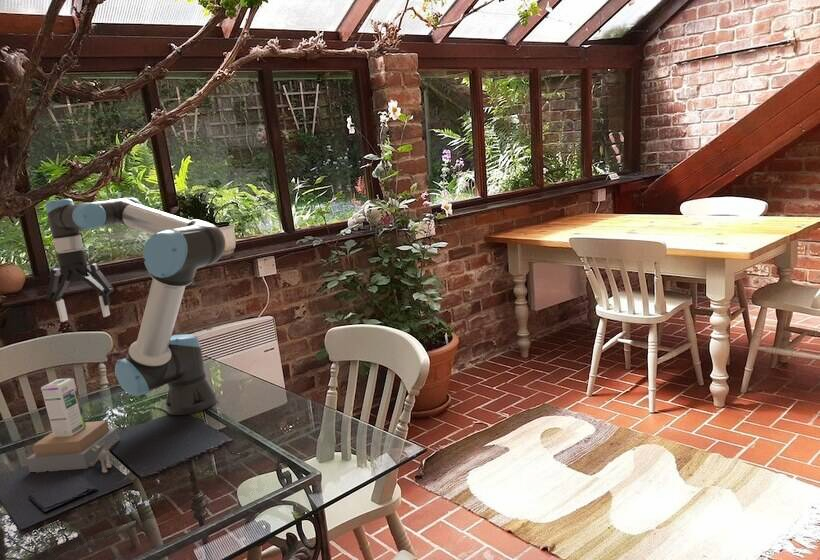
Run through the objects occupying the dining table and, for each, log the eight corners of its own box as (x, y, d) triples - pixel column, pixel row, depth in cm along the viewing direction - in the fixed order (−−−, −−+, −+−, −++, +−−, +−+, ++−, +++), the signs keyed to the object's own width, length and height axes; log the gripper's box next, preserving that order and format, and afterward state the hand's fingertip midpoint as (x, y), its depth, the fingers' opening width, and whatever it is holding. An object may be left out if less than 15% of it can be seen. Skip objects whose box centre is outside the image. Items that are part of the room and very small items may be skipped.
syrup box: (72, 436, 166) (59, 385, 163) (52, 437, 167) (40, 386, 164) (86, 427, 171) (74, 377, 169) (68, 428, 172) (55, 378, 170)
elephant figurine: (83, 480, 155) (79, 456, 162) (104, 487, 159) (99, 464, 166) (110, 450, 156) (105, 428, 162) (130, 458, 160) (125, 436, 166)
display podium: (120, 440, 177) (115, 417, 176) (86, 468, 162) (80, 443, 160) (68, 445, 179) (62, 422, 178) (29, 472, 163) (23, 448, 162)
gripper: (116, 244, 192) (130, 310, 196) (38, 253, 193) (54, 319, 197) (103, 247, 185) (118, 316, 188) (22, 257, 186) (39, 326, 190)
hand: (85, 318), depth 193 cm, fingers open, 13 cm apart
